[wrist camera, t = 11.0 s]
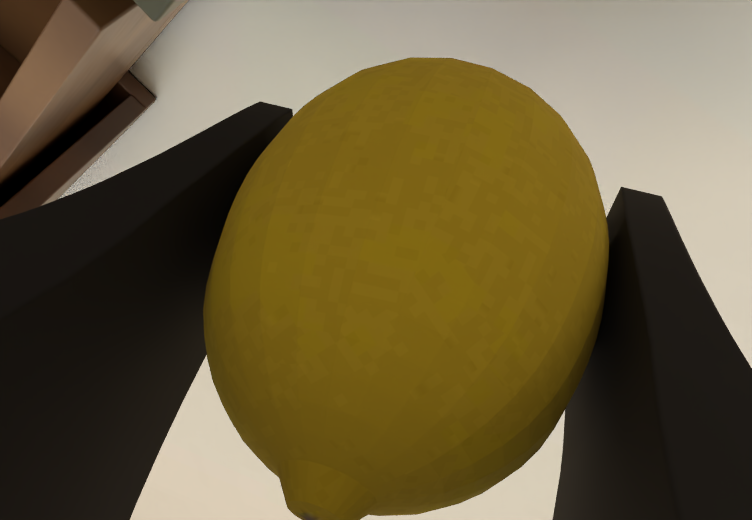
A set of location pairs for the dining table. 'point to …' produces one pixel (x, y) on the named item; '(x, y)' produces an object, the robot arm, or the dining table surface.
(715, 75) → the dining table surface
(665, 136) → the dining table surface
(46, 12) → the drawer
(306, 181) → the lemon
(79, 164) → the cabinet
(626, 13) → the dining table surface
